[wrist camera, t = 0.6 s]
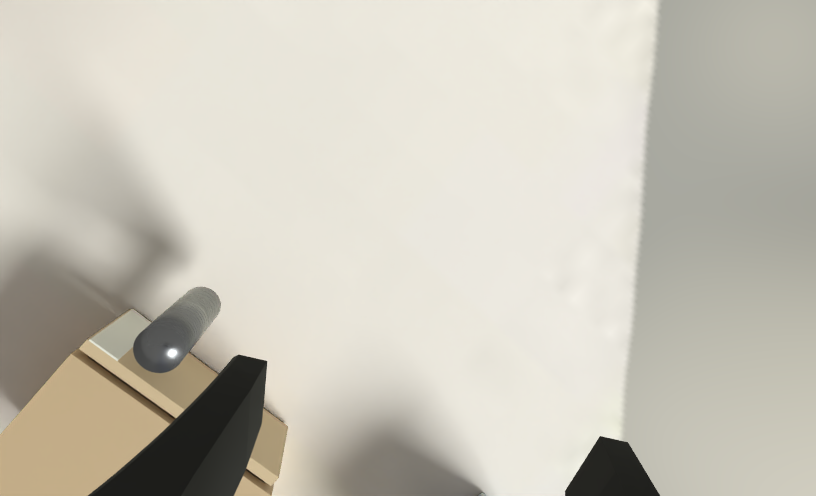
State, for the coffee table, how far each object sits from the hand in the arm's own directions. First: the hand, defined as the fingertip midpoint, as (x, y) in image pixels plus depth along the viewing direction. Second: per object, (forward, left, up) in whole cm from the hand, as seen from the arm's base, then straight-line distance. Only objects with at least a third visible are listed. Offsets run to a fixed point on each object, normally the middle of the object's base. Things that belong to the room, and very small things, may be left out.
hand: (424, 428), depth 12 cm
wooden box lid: (-9, +3, -21) cm, 23 cm away
